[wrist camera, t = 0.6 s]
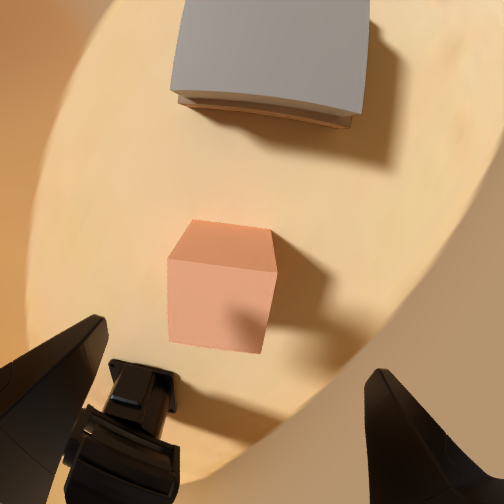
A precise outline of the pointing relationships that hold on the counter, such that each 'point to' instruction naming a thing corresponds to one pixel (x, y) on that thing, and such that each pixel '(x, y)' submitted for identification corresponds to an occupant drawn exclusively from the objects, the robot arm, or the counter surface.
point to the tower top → (275, 53)
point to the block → (221, 286)
